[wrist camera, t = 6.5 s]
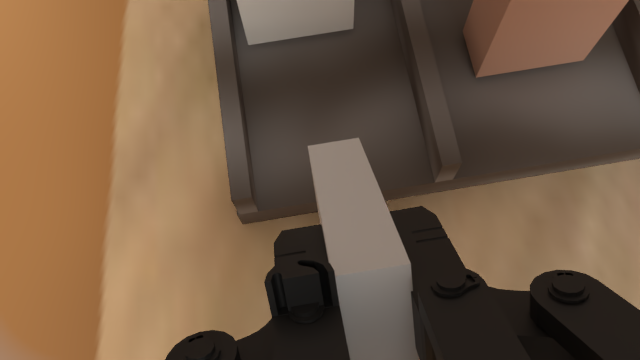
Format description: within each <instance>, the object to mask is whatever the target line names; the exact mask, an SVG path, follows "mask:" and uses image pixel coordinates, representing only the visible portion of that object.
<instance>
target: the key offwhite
mask: <svg viewBox="0 0 640 360" xmlns="http://www.w3.org/2000/svg"><path fill="white" fill-rule="evenodd" d="M237 4H238V8H239V12H240V16H241V19H242V23H243V27H244V31H245V34H246V38H247V42H248V45H253V44H260V43H266V42H272V41H279V40H285V39H291V38H298V37H304V36H310V35H317V34H323V33H330V32H336V31H342V30H349V29H353V24H354V0H237Z"/></svg>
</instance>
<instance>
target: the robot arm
mask: <svg viewBox="0 0 640 360" xmlns="http://www.w3.org/2000/svg"><path fill="white" fill-rule="evenodd" d="M308 151H309V157H310V164H311V170H312V176H313V183H314V189H315V195H316V201H317V208H318V214H319V220H320V225H314V226H308V227H302V228H296V229H290V230H284V231H281V233H280V235H279V236H278V238H277V239H276V241H275V242H274V256H275V258H274V259H275V266H274V267H273V268H272V269H271V270H270V271H269V272H268V274H267V276H266V279H265V287H266V291H267V296H268V301H269V305H270V310H271V314H272V319H271V320H270V321H269V322H268V323H267V324H266V325H265V326H264V327H263V328H261V329H260V330H259V331H257V332H255V333H253V334H251V335H249V336H247V337H245V338H242V339H240V340H237V341H235V340H234V338H233V337H232V336H231V335H229V334H227V333H225V332H222V331H215V330H210V331H203V332H198V333H196V334H193V335H191V336H188V337H186V338H185V339H183V340H182V341H180V342H179V343H178V344H176V345H175V346H174V347H173V349H172V350H171V351H170V352H169V354H168V355H167V357H166V359H165V360H419V359H420V360H640V310H639V309H637V308H636V307H634V306H633V305H632V304H630V303H629V302H627V301H626V300H625V299H623V298H622V297H620V296H619V295H618V294H616V293H615V292H613V291H612V290H611V289H609V288H608V287H606V286H605V285H604V284H602V283H601V282H599V281H598V280H596V279H594V278H592V277H590V276H589V275H587V274H583V273H580V272H576V271H571V270H554V271H549V272H544V273H543V274H541V275H539V276H537V277H535V278H534V280H533V281H532V283H531V284H530V291H513V290H502V289H496V288H492V287H488V286H487V284H486V282H485V281H484V280H483V279H482V278H481V277H480V276H479V275H478V274H477V273H475V272H473V271H471V270H469V269H466V268H465V266H464V264H463V263H462V261H461V259H460V257H459V256H458V254H457V252H456V250H455V248H454V247H453V245H452V243H451V241H450V239H449V238H448V237H447V234H446V232H445V231H444V229H443V228H442V225H441V223H440V222H439V220H438V218H437V216H436V215H435V214H434V213H432V212H430V211H429V210H427V209H426V208H424V207H422V206H420V207H414V208H408V209H402V210H396V211H390V212H389V210H388V207H387V205H386V202H385V200H384V198H383V195H382V193H381V190H380V188H379V186H378V183H377V181H376V178H375V176H374V173H373V171H372V169H371V166H370V164H369V161H368V159H367V156H366V154H365V152H364V149H363V147H362V144H361V142H360V140H359V138H353V139H347V140H341V141H335V142H329V143H323V144H316V145H310V146H308ZM418 356H419V357H418Z"/></svg>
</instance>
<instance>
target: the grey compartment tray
mask: <svg viewBox="0 0 640 360" xmlns="http://www.w3.org/2000/svg"><path fill="white" fill-rule="evenodd" d="M472 3H473V0H354V24H353V29H349V30H342V31H336V32H330V33H323V34H317V35H310V36H304V37H298V38H291V39H285V40H279V41H272V42H266V43H260V44H253V45H248V42H247V38H246V34H245V31H244V27H243V23H242V19H241V16H240V12H239V8H238V4H237V0H208V4H209V13H210V21H211V30H212V38H213V47H214V55H215V64H216V73H217V81H218V90H219V98H220V107H221V115H222V124H223V132H224V141H225V149H226V158H227V166H228V175H229V183H230V192H231V200H232V202H233V204H234V206H235V207H236V209H237V215H238V217H239V219H240V220H241V222H242V224H246V223H252V222H258V221H264V220H271V219H277V218H283V217H289V216H295V215H301V214H307V213H313V212H318V208H317V201H316V195H315V189H314V183H313V176H312V170H311V164H310V157H309V151H308V146H310V145H316V144H323V143H329V142H335V141H341V140H347V139H353V138H359V140H360V142H361V144H362V147H363V149H364V152H365V154H366V156H367V159H368V161H369V164H370V166H371V169H372V171H373V173H374V176H375V178H376V181H377V183H378V186H379V188H380V190H381V193H382V195H383V198H384V200H391V199H398V198H404V197H410V196H416V195H422V194H428V193H434V192H440V191H446V190H452V189H458V188H464V187H470V186H476V185H482V184H488V183H494V182H500V181H506V180H512V179H518V178H524V177H531V176H537V175H543V174H549V173H555V172H561V171H567V170H573V169H579V168H585V167H591V166H597V165H603V164H609V163H615V162H621V161H627V160H633V159H639V158H640V0H629V1H628V2H627V4H626V5H625V6H624V8H623V9H622V10H621V12H620V13H619V14H618V16H617V17H616V18H615V19H614V21H613V22H612V23H611V25H610V26H609V27H608V29H607V30H606V31H605V33H604V34H603V35H602V37H601V38H600V39H599V41H598V42H597V43H596V45H595V46H594V47H593V48H592V50H591V51H590V52H589V54H588V55H587V56H586V58H585V59H584V60H583V61H577V62H571V63H564V64H558V65H552V66H546V67H539V68H533V69H527V70H521V71H514V72H508V73H502V74H496V75H490V76H483V77H477V78H476V76H475V73H474V69H473V66H472V62H471V59H470V55H469V52H468V48H467V45H466V41H465V38H464V34H463V29H464V26H465V23H466V20H467V17H468V14H469V12H470V9H471V6H472Z"/></svg>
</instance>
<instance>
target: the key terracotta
mask: <svg viewBox="0 0 640 360" xmlns="http://www.w3.org/2000/svg"><path fill="white" fill-rule="evenodd" d="M628 1H629V0H473V3H472V6H471V9H470V12H469V14H468V17H467V20H466V23H465V26H464V29H463V34H464V38H465V41H466V45H467V48H468V52H469V55H470V59H471V62H472V66H473V69H474V73H475V76H476V78H477V77H483V76H490V75H496V74H502V73H508V72H514V71H521V70H527V69H533V68H539V67H546V66H552V65H558V64H564V63H571V62H577V61H583V60H584V59H585V58H586V56H587V55H588V54H589V52H590V51H591V50H592V48H593V47H594V46H595V45H596V43H597V42H598V41H599V39H600V38H601V37H602V35H603V34H604V33H605V31H606V30H607V29H608V27H609V26H610V25H611V23H612V22H613V21H614V19H615V18H616V17H617V16H618V14H619V13H620V12H621V10H622V9H623V8H624V6H625V5H626V4H627V2H628Z"/></svg>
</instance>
